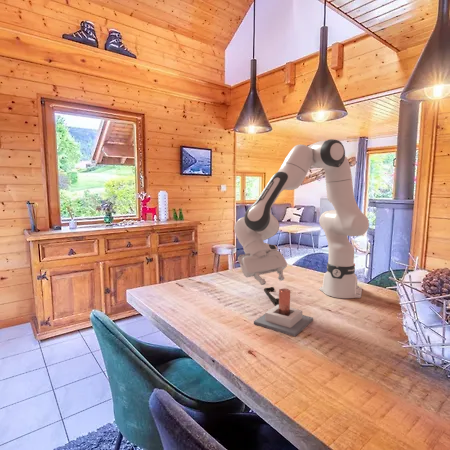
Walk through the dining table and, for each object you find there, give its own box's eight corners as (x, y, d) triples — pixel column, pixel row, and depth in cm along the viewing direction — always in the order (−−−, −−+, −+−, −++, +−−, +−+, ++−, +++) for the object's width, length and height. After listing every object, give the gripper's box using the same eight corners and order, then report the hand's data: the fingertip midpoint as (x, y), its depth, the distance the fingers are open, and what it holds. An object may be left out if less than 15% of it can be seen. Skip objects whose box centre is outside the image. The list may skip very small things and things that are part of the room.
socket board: (274, 310, 122) (274, 300, 122) (313, 320, 113) (313, 309, 112) (253, 323, 110) (253, 313, 109) (295, 336, 100) (295, 325, 100)
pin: (281, 316, 114) (282, 287, 113) (291, 318, 111) (292, 290, 110) (276, 319, 111) (277, 290, 109) (286, 322, 108) (287, 292, 107)
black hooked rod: (274, 294, 147) (290, 313, 117) (263, 295, 147) (277, 314, 117) (273, 283, 147) (290, 300, 117) (263, 284, 147) (277, 301, 117)
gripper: (239, 250, 114) (255, 282, 107) (279, 245, 125) (296, 273, 118) (232, 260, 118) (248, 291, 111) (272, 253, 129) (288, 281, 122)
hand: (273, 282), depth 115 cm, fingers open, 8 cm apart
